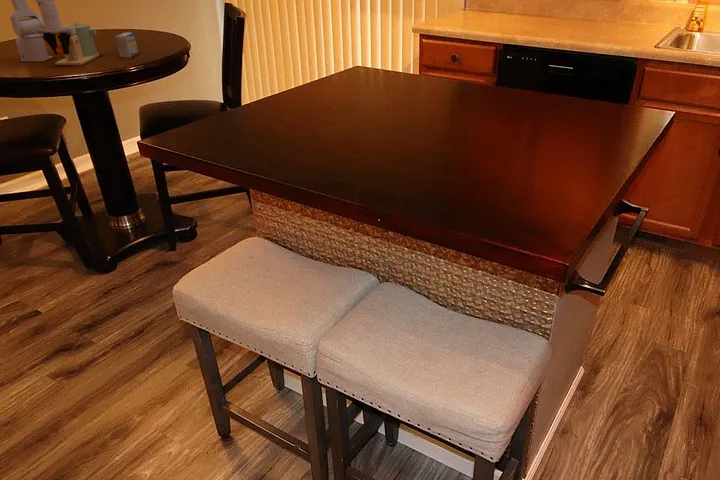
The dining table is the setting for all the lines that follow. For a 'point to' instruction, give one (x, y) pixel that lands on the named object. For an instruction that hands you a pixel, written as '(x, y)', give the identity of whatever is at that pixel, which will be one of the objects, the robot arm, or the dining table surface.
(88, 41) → the kettle
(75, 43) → the switch bracket
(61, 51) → the switch
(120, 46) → the medicine box
